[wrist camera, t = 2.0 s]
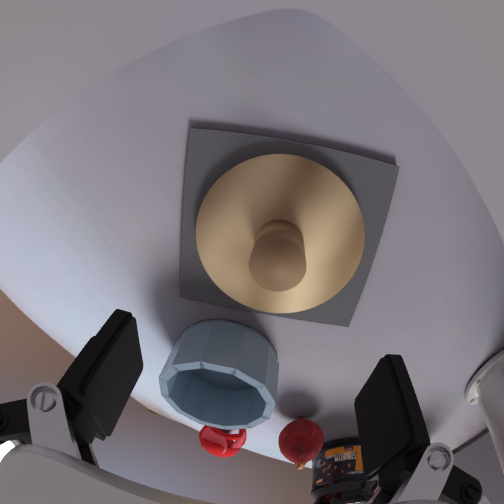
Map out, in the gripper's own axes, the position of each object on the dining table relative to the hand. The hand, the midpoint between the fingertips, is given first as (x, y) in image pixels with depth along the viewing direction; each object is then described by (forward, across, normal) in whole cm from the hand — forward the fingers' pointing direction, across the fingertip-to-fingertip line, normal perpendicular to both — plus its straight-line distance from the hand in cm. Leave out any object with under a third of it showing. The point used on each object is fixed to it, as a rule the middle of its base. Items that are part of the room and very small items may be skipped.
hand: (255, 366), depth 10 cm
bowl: (+14, +2, +15) cm, 21 cm away
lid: (+14, -1, 0) cm, 14 cm away
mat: (+14, -1, 0) cm, 14 cm away
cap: (+14, +1, +30) cm, 33 cm away
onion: (+14, -9, +25) cm, 30 cm away
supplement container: (+14, -19, +35) cm, 42 cm away
